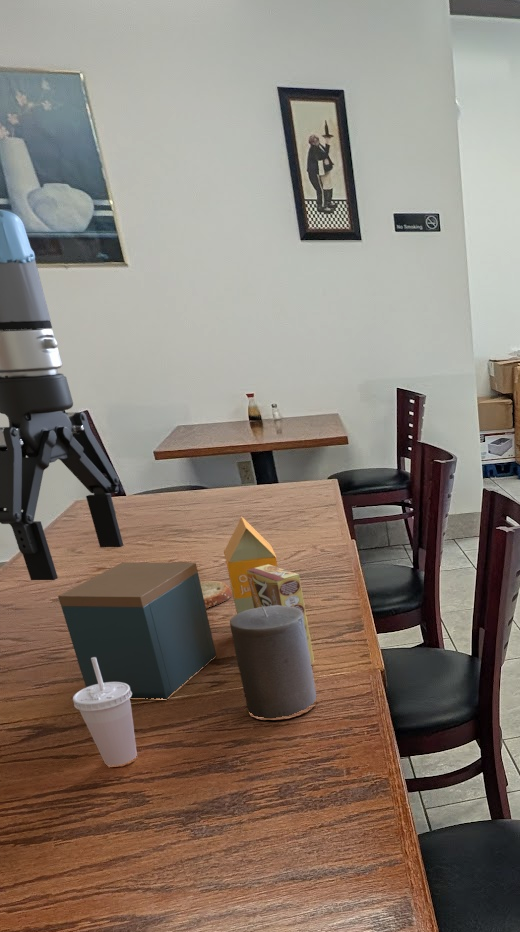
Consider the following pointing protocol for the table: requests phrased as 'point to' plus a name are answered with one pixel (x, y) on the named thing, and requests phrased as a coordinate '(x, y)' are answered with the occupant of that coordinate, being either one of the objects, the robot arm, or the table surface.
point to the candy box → (278, 591)
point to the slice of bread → (215, 592)
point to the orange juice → (246, 561)
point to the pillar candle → (273, 660)
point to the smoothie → (108, 718)
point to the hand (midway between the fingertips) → (80, 562)
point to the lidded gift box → (140, 626)
